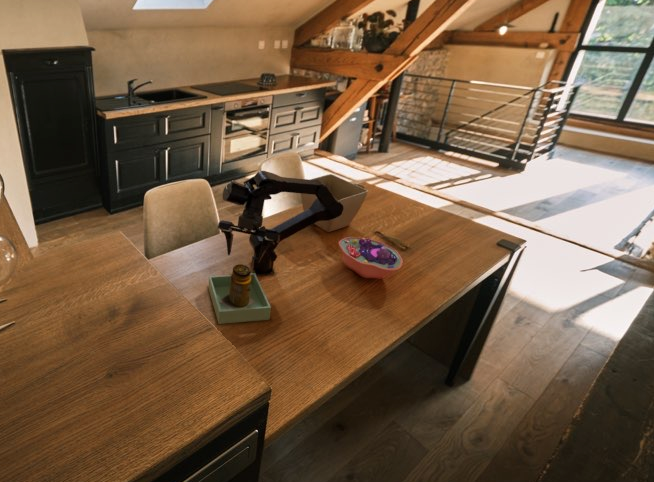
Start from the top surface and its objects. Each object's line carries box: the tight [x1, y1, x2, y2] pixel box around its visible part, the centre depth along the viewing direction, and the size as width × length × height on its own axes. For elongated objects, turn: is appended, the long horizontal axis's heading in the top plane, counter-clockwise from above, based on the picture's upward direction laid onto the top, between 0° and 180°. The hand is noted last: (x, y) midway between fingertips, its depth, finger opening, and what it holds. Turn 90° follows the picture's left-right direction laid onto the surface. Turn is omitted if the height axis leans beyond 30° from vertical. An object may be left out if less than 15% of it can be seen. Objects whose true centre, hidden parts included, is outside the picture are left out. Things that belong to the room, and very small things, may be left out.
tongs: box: [374, 230, 410, 251], centre depth 148 cm, size 4×13×2 cm, turn 35°
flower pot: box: [300, 173, 369, 233], centre depth 158 cm, size 19×19×17 cm
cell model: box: [338, 236, 404, 280], centre depth 130 cm, size 17×20×11 cm
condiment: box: [219, 263, 254, 309], centre depth 115 cm, size 7×8×12 cm
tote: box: [207, 272, 272, 325], centre depth 117 cm, size 15×15×5 cm
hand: (243, 258), depth 117 cm, fingers open, 9 cm apart
